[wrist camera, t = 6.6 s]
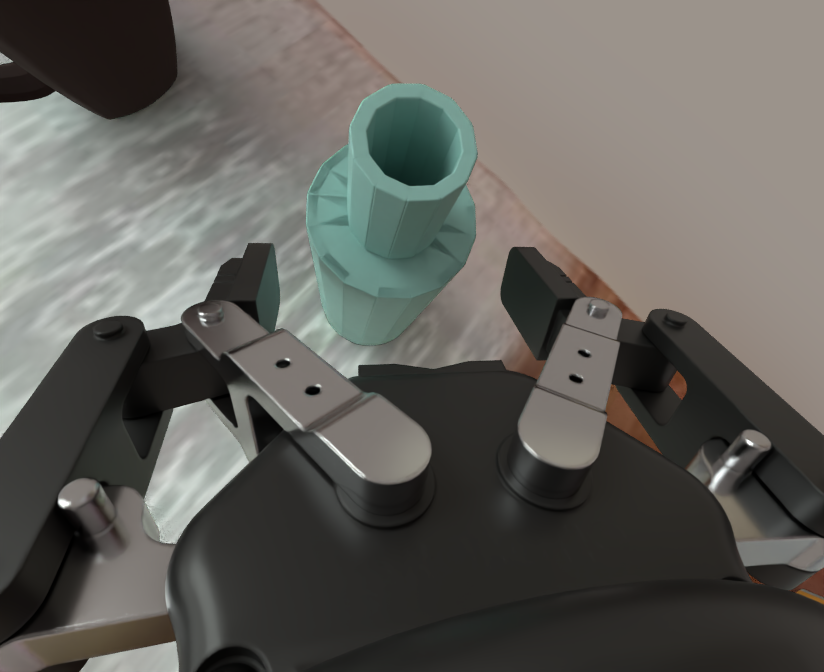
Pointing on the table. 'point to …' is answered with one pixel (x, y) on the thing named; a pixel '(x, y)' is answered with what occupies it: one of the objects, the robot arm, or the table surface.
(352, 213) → the vase
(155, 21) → the cup
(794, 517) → the robot arm
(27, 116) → the table surface
